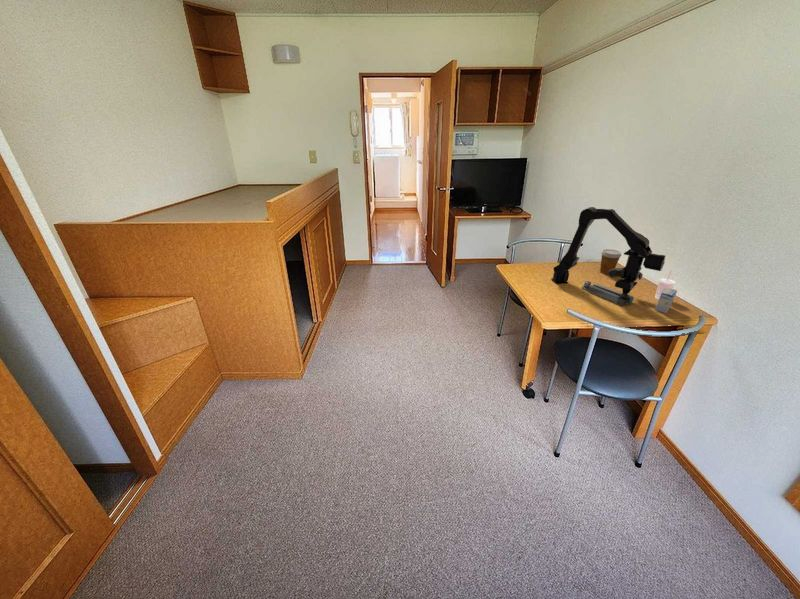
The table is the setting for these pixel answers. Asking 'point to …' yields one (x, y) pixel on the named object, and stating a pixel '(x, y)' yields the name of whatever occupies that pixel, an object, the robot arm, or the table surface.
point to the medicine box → (665, 300)
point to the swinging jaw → (615, 292)
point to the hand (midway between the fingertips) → (624, 296)
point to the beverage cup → (664, 285)
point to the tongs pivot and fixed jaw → (605, 294)
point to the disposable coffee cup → (609, 260)
